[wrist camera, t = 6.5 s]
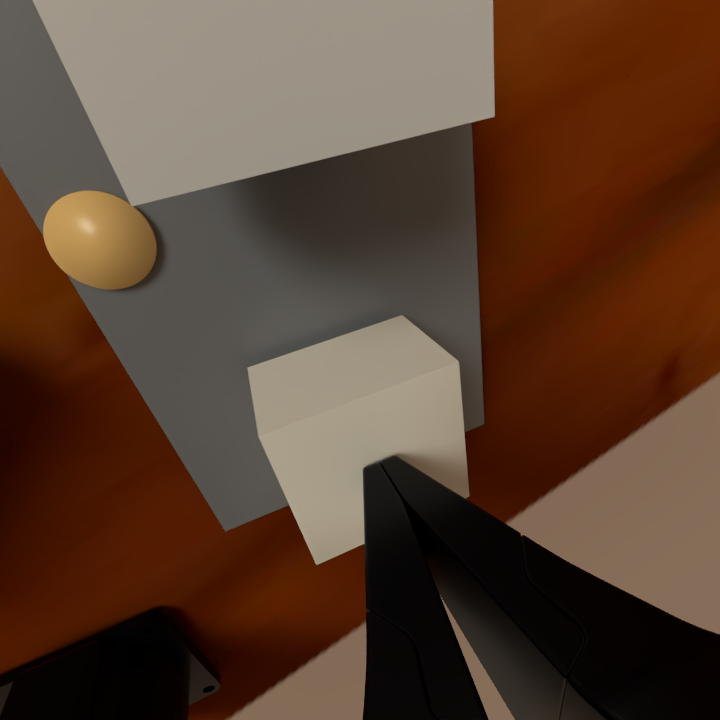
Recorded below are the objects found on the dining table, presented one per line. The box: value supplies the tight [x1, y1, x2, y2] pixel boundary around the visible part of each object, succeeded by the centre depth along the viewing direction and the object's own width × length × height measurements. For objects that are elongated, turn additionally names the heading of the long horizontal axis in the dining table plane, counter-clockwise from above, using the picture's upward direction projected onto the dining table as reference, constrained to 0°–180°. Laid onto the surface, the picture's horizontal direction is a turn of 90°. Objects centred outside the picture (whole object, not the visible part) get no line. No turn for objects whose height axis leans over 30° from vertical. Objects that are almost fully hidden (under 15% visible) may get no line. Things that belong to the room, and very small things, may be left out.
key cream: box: [247, 315, 469, 565], centre depth 10 cm, size 4×4×3 cm
